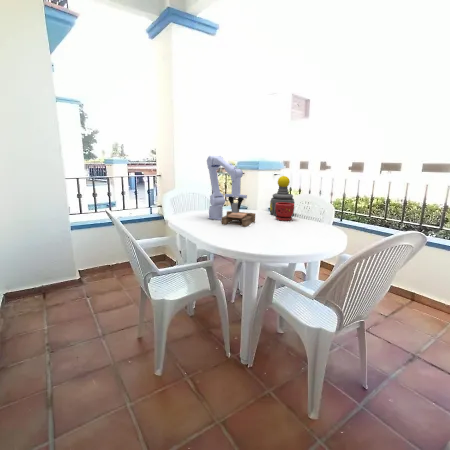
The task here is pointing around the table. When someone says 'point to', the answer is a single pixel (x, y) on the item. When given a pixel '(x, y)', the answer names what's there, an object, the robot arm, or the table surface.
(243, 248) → the table surface
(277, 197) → the decorative lamp
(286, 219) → the plant pot
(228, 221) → the frame
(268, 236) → the table surface
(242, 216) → the trapdoor
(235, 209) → the stone
